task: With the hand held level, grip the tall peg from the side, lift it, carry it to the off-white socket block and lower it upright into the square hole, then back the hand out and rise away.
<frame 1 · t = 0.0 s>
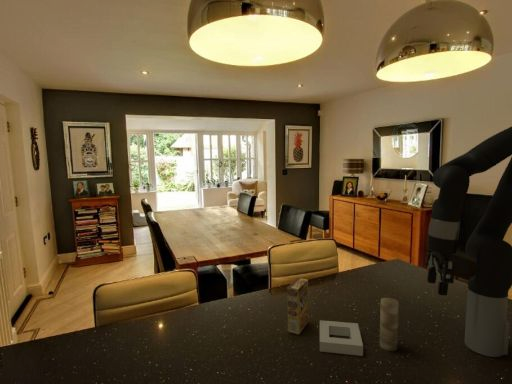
hand: (436, 288, 90), 17 cm above the kitchen island, tool pointing down, fingers open, 8 cm apart
socket block: (339, 341, 93), on the kitchen island
peg: (388, 346, 91), on the kitchen island
candy box: (298, 327, 102), on the kitchen island
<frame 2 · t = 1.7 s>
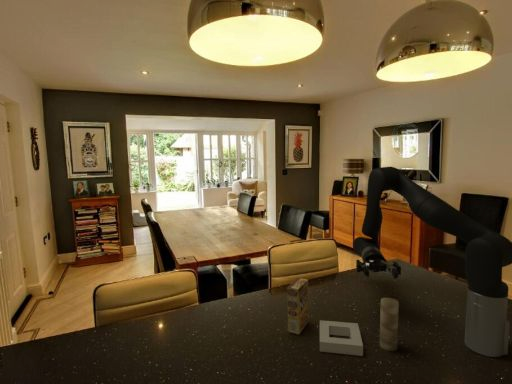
hand: (381, 275, 99), 18 cm above the kitchen island, tool horizontal, fingers open, 8 cm apart
nothing on the kitchen island moved.
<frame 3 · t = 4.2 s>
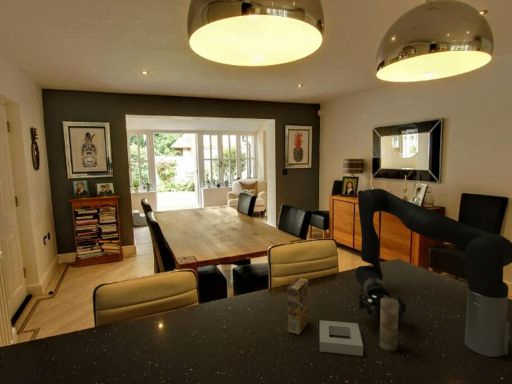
hand: (385, 314, 94), 8 cm above the kitchen island, tool horizontal, fingers open, 8 cm apart
nothing on the kitchen island moved.
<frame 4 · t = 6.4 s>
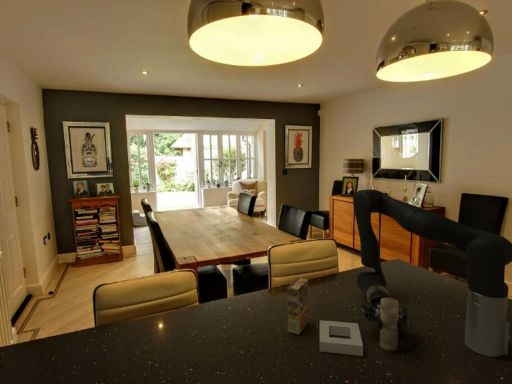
hand: (391, 327, 87), 8 cm above the kitchen island, tool horizontal, fingers closed on peg, 4 cm apart
peg: (388, 346, 91), on the kitchen island, touching gripper
everything else where it was.
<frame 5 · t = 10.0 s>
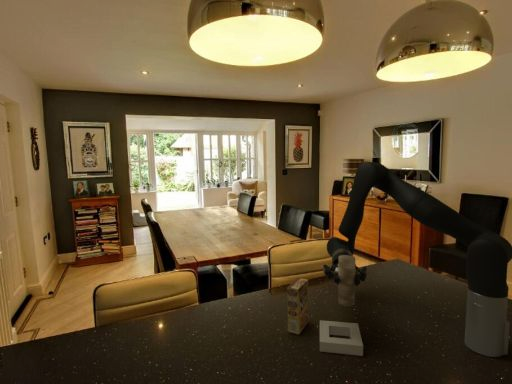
hand: (347, 282, 89), 20 cm above the kitchen island, tool horizontal, fingers closed on peg, 4 cm apart
peg: (346, 302, 92), point 12 cm above the kitchen island, touching gripper
everything else where it was.
when the fingers open (9 cm above the kitchen island, at t = 13.4 s): peg drops 1 cm, resting in socket block.
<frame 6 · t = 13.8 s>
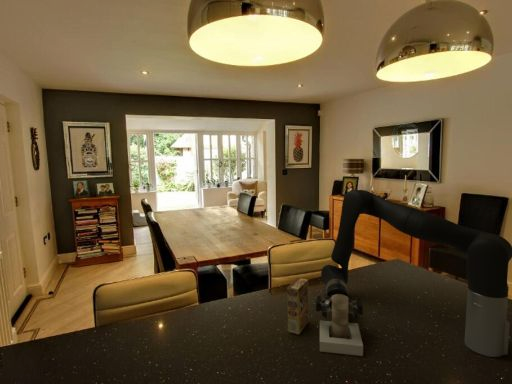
hand: (340, 316, 90), 9 cm above the kitchen island, tool horizontal, fingers open, 8 cm apart
peg: (339, 341, 93), resting in socket block
everything else where it was.
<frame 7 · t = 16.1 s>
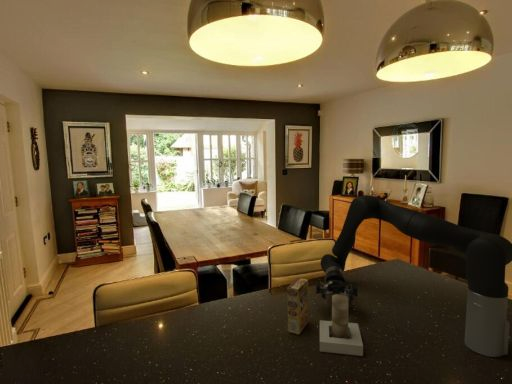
hand: (337, 297, 103), 9 cm above the kitchen island, tool horizontal, fingers open, 8 cm apart
nothing on the kitchen island moved.
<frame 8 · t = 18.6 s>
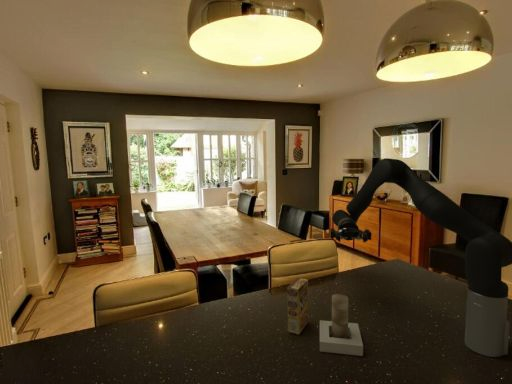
hand: (352, 239, 105), 28 cm above the kitchen island, tool horizontal, fingers open, 8 cm apart
nothing on the kitchen island moved.
at the end: peg 0.1 cm off-centre on the socket block, point 0.0 cm above the socket block's base; peg tilted 0°; the gripper is holding nothing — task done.
